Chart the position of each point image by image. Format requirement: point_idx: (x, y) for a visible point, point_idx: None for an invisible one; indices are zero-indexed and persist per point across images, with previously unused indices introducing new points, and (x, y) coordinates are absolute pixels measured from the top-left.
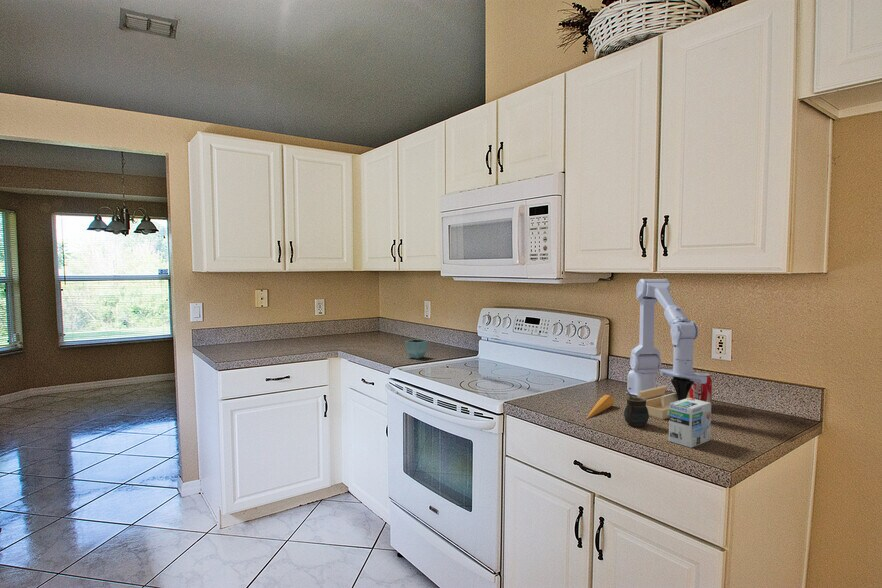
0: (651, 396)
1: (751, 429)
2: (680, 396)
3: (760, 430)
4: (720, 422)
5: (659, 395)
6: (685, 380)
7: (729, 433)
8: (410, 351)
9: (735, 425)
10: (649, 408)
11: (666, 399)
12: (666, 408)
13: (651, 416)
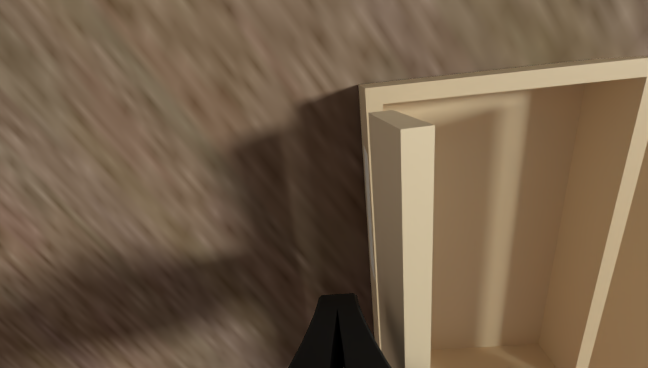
0: (618, 279)
1: (54, 341)
2: (327, 324)
3: (34, 357)
4: (180, 321)
5: (589, 363)
6: None
7: (17, 209)
8: None
9: (121, 336)
10: (493, 74)
11: (387, 178)
12: None
13: (447, 75)
